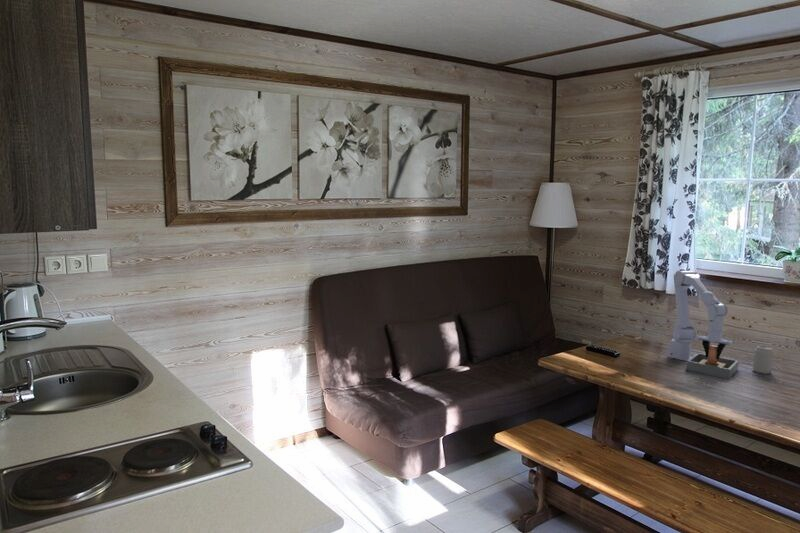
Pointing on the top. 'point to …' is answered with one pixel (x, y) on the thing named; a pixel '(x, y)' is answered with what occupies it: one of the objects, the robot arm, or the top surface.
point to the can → (763, 359)
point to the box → (712, 366)
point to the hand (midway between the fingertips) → (712, 357)
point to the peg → (712, 354)
